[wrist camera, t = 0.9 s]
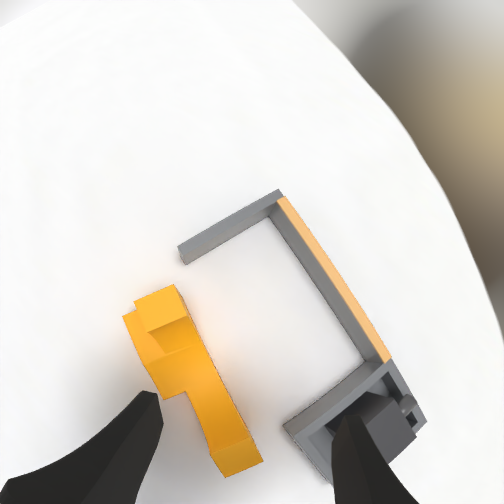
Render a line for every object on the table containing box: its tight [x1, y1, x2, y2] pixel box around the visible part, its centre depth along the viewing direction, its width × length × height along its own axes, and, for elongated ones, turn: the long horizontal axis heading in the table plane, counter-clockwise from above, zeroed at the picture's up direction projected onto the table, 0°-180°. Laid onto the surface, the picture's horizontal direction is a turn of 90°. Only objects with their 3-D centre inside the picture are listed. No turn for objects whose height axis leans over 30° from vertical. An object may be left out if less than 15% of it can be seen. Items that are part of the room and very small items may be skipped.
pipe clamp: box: [122, 284, 263, 478], centre depth 19 cm, size 12×4×6 cm, turn 26°
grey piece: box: [177, 189, 427, 488], centre depth 21 cm, size 10×24×6 cm, turn 34°
